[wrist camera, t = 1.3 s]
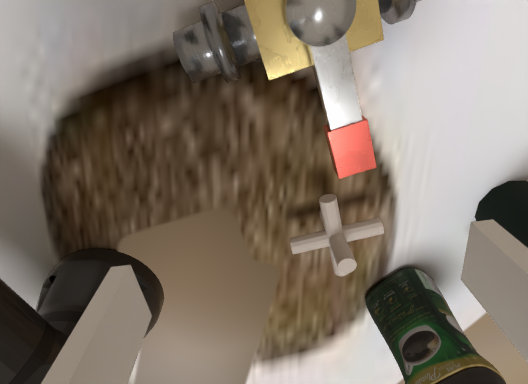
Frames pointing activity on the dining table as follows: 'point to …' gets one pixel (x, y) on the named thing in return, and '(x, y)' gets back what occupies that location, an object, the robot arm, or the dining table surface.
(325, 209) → the pipe connector
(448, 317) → the coffee jar
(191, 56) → the pipe
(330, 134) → the lever
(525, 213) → the wine bottle
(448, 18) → the dining table surface
